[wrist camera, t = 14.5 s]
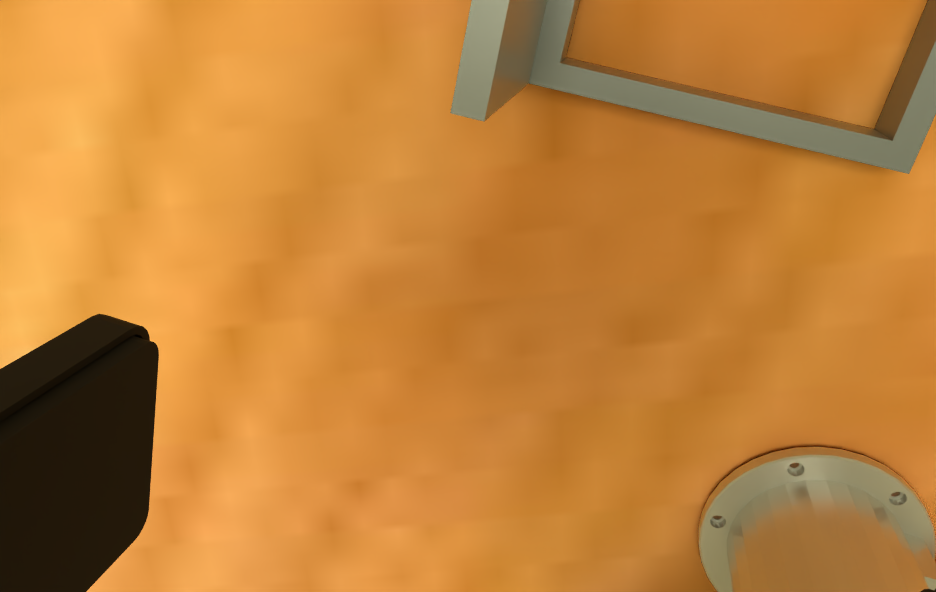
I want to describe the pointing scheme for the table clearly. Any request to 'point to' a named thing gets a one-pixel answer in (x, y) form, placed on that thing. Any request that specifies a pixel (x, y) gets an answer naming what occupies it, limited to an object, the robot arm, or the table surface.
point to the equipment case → (545, 64)
